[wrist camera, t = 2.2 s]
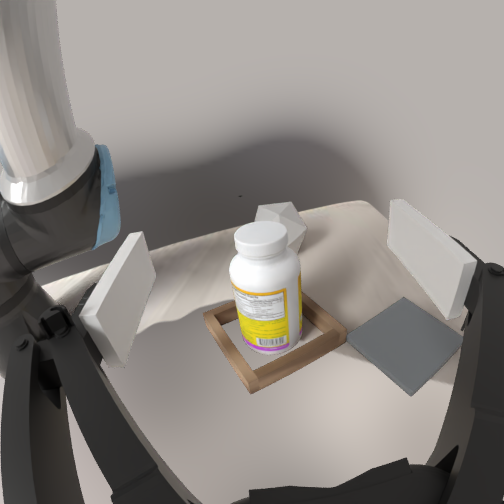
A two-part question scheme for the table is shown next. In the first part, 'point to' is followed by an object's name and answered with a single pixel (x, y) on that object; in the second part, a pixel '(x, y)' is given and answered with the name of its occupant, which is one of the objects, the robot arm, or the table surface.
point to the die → (285, 221)
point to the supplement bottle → (267, 287)
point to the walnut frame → (286, 363)
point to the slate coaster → (406, 344)
